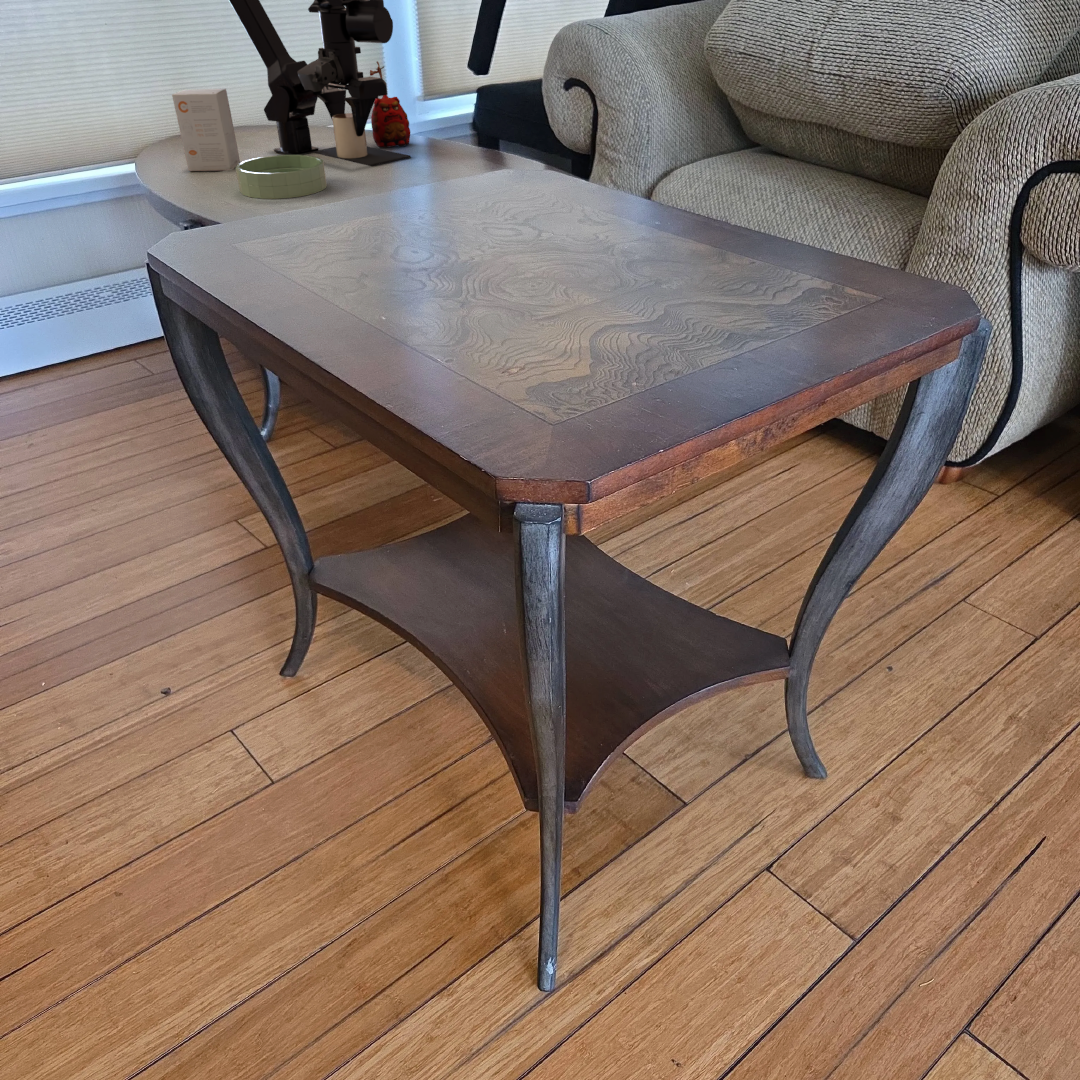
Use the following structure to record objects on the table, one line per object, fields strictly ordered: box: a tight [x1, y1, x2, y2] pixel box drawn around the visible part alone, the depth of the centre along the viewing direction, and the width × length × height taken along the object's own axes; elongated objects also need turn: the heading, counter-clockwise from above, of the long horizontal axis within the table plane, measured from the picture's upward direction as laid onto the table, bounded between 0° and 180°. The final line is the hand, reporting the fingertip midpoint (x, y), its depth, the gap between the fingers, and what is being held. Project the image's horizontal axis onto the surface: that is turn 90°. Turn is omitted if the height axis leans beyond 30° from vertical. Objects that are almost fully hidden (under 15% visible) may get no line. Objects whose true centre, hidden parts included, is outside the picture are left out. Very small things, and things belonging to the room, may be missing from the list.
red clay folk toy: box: [369, 60, 411, 149], centre depth 185 cm, size 8×7×15 cm
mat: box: [298, 146, 412, 167], centre depth 180 cm, size 18×14×1 cm
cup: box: [331, 112, 368, 158], centre depth 178 cm, size 6×6×7 cm
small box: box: [171, 88, 241, 172], centre depth 171 cm, size 8×6×13 cm
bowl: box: [235, 154, 328, 200], centre depth 157 cm, size 14×14×4 cm
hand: (349, 134), depth 178 cm, fingers closed on cup, 6 cm apart
